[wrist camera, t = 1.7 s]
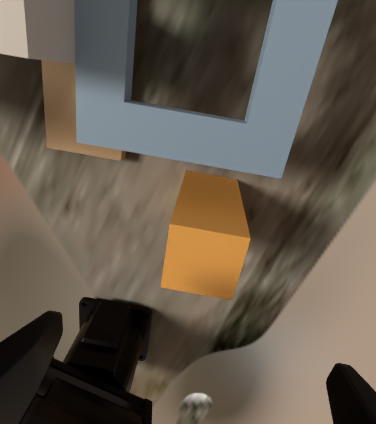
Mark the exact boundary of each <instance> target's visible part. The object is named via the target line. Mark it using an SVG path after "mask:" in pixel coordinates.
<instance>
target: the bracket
mask: <svg viewBox="0 0 376 424" xmlns="http://www.w3.org/2000/svg"><path fill="white" fill-rule="evenodd" d="M137 1H138V0H0V54H6V55H11V56H17V57H23V58H28V59H37V60H46V61H55V62H64V63H73V64H75V75H76V139H77V143H83V144H88V145H94V146H100V147H105V148H111V149H116V150H122V151H128V152H133V153H139V154H145V155H150V156H156V157H161V158H167V159H173V160H178V161H184V162H190V163H195V164H201V165H206V166H212V167H218V168H223V169H229V170H235V171H240V172H246V173H251V174H257V175H263V176H268V177H274V178H279V179H281V178H282V175H283V171H284V168H285V165H286V162H287V159H288V156H289V153H290V149H291V146H292V143H293V140H294V137H295V134H296V131H297V127H298V124H299V121H300V118H301V115H302V112H303V109H304V105H305V102H306V99H307V96H308V93H309V90H310V87H311V83H312V80H313V77H314V74H315V71H316V68H317V65H318V61H319V58H320V55H321V52H322V49H323V46H324V43H325V39H326V36H327V33H328V30H329V27H330V24H331V21H332V17H333V14H334V11H335V8H336V5H337V2H338V0H273V2H272V6H271V11H270V15H269V19H268V23H267V27H266V32H265V36H264V40H263V44H262V49H261V53H260V57H259V61H258V66H257V70H256V74H255V78H254V83H253V87H252V91H251V95H250V100H249V104H248V108H247V112H246V117H245V120H240V119H234V118H229V117H223V116H217V115H212V114H206V113H200V112H195V111H189V110H183V109H178V108H172V107H166V106H161V105H155V104H149V103H144V102H138V101H132V100H131V94H132V78H133V63H134V47H135V32H136V16H137Z"/></svg>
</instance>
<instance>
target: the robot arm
mask: <svg viewBox="0 0 376 424" xmlns="http://www.w3.org/2000/svg"><path fill="white" fill-rule="evenodd" d="M86 303H87V304H86ZM147 314H148V315H147ZM79 318H80V319H79V320H80V321H79V322H80V331H79V333H78V335H77V336H76V338H75V340H74V342H73V344H72V346H71V347H70V350H69V351H68V353H67V355H66V357H65V359H64V361H63V362H61V361H59V360H57V359H54V357H53V355H54V352H55V350H56V348H57V346H58V343H59V341H60V339H61V336H62V333H63V324H62V314H61V313H60V312H56V311H47V312H45V313H44V314H42V315H41V316H39V317H38V318H36V319H35V320H33V321H32V322H30V323H29V324H27V325H26V326H24V327H23V328H21V329H20V330H18V331H17V332H15V333H13V334H12V335H10V336H9V337H7V338H6V339H4V340H3V341H2V342H0V424H152V401H150V400H148V399H143V398H140V397H138V396H136V395H134V394H131V393H129V392H130V389H131V385H132V381H133V377H134V374H135V370H136V366H137V363H138V360H140V361H143V360H145V359H146V355H147V348H148V341H149V334H150V327H151V319H152V311H151V310H150V309H148V308H143V307H138V306H132V305H127V304H121V303H116V302H110V301H105V300H99V299H94V298H88V297H83V298H82V299H81V301H80V303H79ZM326 386H327V392H328V397H329V403H330V408H331V413H332V418H333V424H376V392H375V391H374V389H372V387H371V386H370V385H369V384H368V383H367V382H366V381H365V380H364V379H363V378H362V377H361V376H360V375H359V374H358V373H357V372H356V370H354V368H352V367H351V366H350V365H346V364H341V363H337V364H335V366H334V367H333V369H332V371H331V372H330V374H329V376H328V378H327V381H326Z"/></svg>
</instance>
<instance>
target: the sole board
mask: <svg viewBox="0 0 376 424" xmlns="http://www.w3.org/2000/svg"><path fill="white" fill-rule="evenodd" d="M41 62H42V78H43V95H44V111H45V127H46V143H47V148H52V149H57V150H63V151H69V152H74V153H80V154H85V155H91V156H97V157H102V158H108V159H114V160H119V161H121V160H123V159H124V158H125V155H126V151H122V150H116V149H111V148H105V147H100V146H94V145H88V144H83V143H77V139H76V75H75V64H73V63H64V62H55V61H46V60H41Z"/></svg>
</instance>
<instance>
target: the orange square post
mask: <svg viewBox="0 0 376 424" xmlns="http://www.w3.org/2000/svg"><path fill="white" fill-rule="evenodd" d="M250 239H251V237H250V233H249V229H248V224H247V220H246V216H245V211H244V207H243V203H242V198H241V194H240V190H239V185H238V181H237V180H236V179H231V178H225V177H219V176H214V175H208V174H203V173H197V172H191V171H186V173H185V176H184V179H183V182H182V186H181V189H180V192H179V196H178V199H177V202H176V206H175V209H174V212H173V215H172V219H171V222H170V227H169V234H168V240H167V247H166V254H165V261H164V267H163V274H162V281H161V287H162V288H168V289H173V290H179V291H184V292H190V293H195V294H201V295H206V296H212V297H217V298H223V299H228V300H233V296H234V293H235V290H236V286H237V283H238V279H239V276H240V273H241V269H242V266H243V263H244V259H245V256H246V253H247V249H248V246H249V243H250Z"/></svg>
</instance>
